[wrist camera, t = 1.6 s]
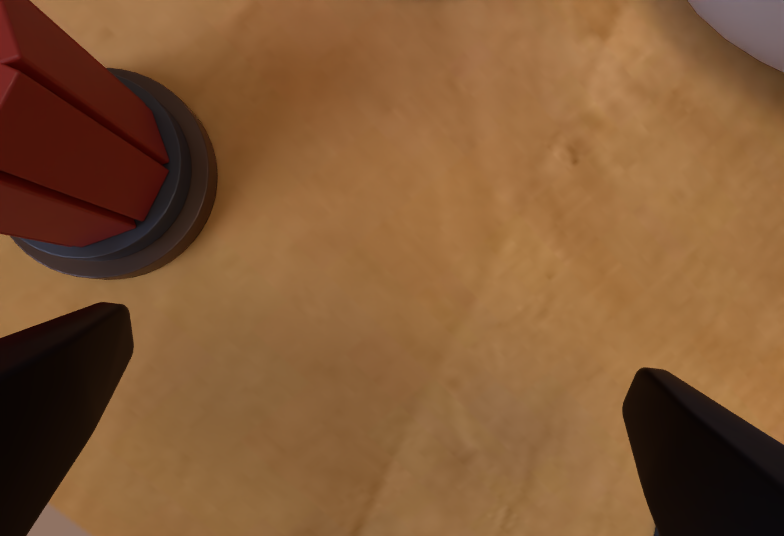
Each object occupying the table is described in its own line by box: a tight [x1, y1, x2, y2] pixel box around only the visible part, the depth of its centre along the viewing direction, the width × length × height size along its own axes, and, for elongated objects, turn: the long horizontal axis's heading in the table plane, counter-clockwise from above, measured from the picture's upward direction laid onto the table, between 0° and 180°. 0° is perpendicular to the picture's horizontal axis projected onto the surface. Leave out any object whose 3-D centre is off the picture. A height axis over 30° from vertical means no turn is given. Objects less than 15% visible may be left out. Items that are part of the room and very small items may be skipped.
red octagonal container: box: [0, 0, 169, 247], centre depth 16 cm, size 6×6×8 cm
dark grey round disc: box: [10, 68, 217, 280], centre depth 21 cm, size 9×9×2 cm
